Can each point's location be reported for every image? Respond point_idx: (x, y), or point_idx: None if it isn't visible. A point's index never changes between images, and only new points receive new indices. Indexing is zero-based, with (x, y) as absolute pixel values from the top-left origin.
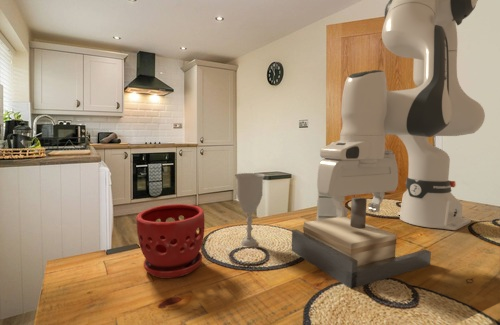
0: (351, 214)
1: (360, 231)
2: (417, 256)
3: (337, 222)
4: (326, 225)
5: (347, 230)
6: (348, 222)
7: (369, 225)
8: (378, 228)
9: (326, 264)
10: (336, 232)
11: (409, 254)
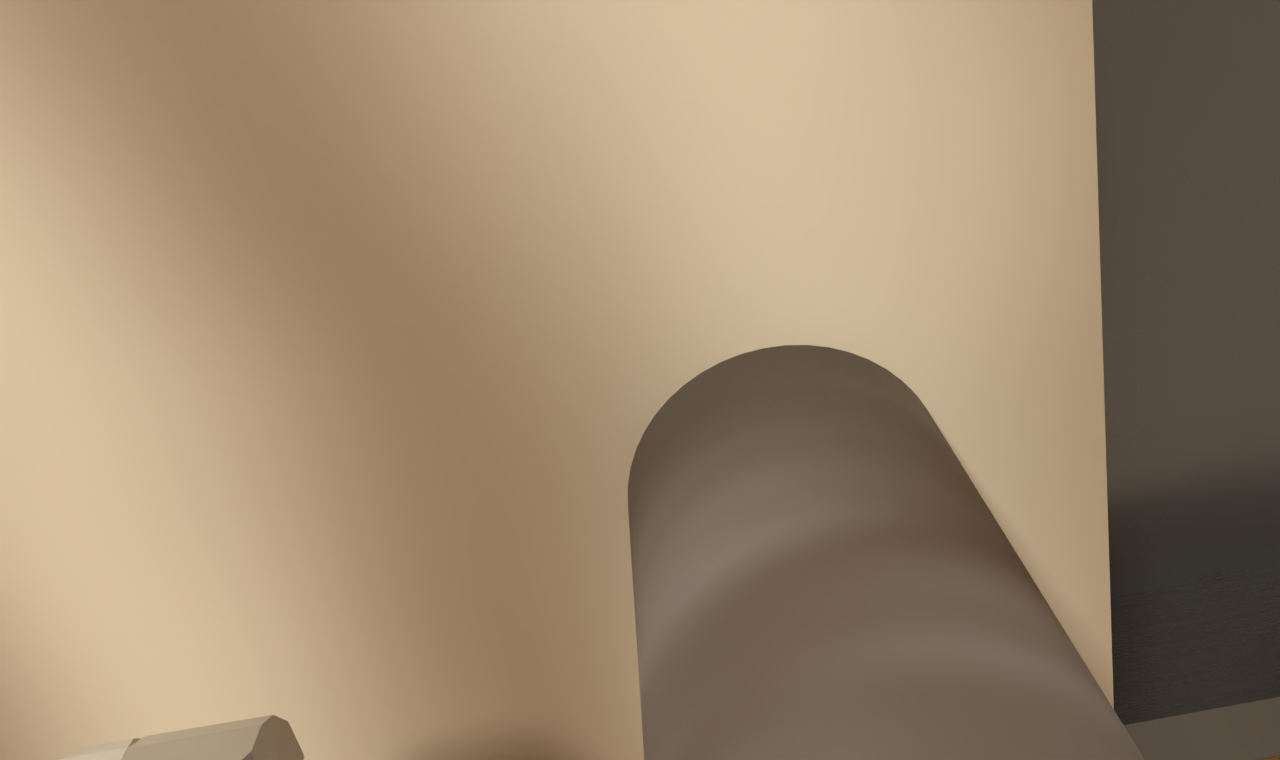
0: (641, 644)
1: (618, 757)
2: (1251, 751)
3: (458, 145)
4: (51, 307)
5: (391, 678)
6: (755, 206)
7: (1079, 501)
8: (1100, 677)
9: None
10: (107, 732)
11: (1192, 725)
